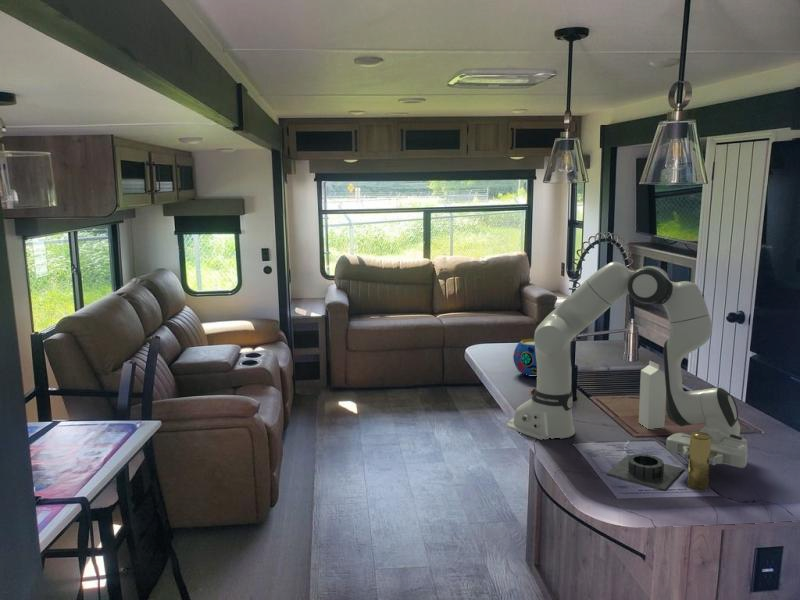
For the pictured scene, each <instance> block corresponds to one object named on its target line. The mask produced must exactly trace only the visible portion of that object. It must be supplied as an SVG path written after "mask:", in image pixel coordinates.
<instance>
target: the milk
mask: <svg viewBox="0 0 800 600" xmlns="http://www.w3.org/2000/svg"><path fill="white" fill-rule="evenodd" d="M639 383H640V385H639V403H638V404H639V407H638V408H639V409H638V424H639V423H640V424H641V425H640V424H639V425H640V426H642V425H643V426H644V427H643V426H642V427H643V428H645V427H646V428H647V429H646V428H645V429H646V430H648V429H650V430H654V429H653V428H661V427H664V428H665V417H666V416H665V415H666V383H665V371H663V370H661V369H660V364H658V363H656V362H653V361H652V360H649V362H648V365H647V366H646V367H644V368H642V369H641V370H640V381H639Z"/></svg>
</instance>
